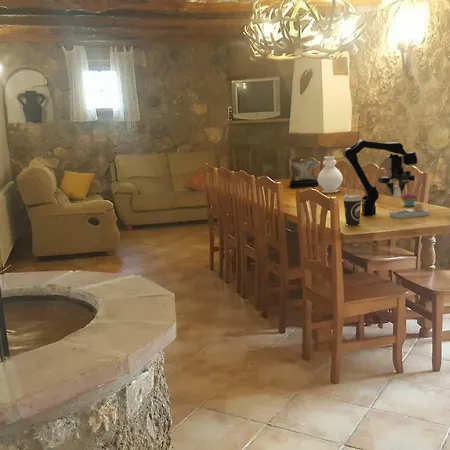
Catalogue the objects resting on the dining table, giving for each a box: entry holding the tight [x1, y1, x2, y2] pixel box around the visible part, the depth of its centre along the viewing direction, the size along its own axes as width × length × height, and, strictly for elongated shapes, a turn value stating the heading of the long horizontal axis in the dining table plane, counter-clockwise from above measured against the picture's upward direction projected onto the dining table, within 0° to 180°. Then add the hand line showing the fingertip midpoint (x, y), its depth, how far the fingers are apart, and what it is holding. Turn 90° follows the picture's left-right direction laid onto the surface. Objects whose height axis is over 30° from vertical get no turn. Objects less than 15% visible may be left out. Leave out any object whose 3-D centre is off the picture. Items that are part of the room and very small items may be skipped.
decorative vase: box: [317, 155, 344, 194], centre depth 383 cm, size 18×18×25 cm
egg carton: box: [389, 208, 430, 219], centre depth 282 cm, size 18×8×3 cm, turn 101°
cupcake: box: [401, 186, 418, 207], centre depth 312 cm, size 9×8×12 cm
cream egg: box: [391, 185, 402, 199], centre depth 291 cm, size 5×5×6 cm
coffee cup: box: [342, 193, 363, 226], centre depth 270 cm, size 10×10×15 cm
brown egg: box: [413, 202, 424, 212], centre depth 282 cm, size 5×5×6 cm
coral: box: [289, 159, 322, 189], centre depth 417 cm, size 25×20×22 cm
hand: (396, 194), depth 292 cm, fingers closed on cream egg, 5 cm apart
